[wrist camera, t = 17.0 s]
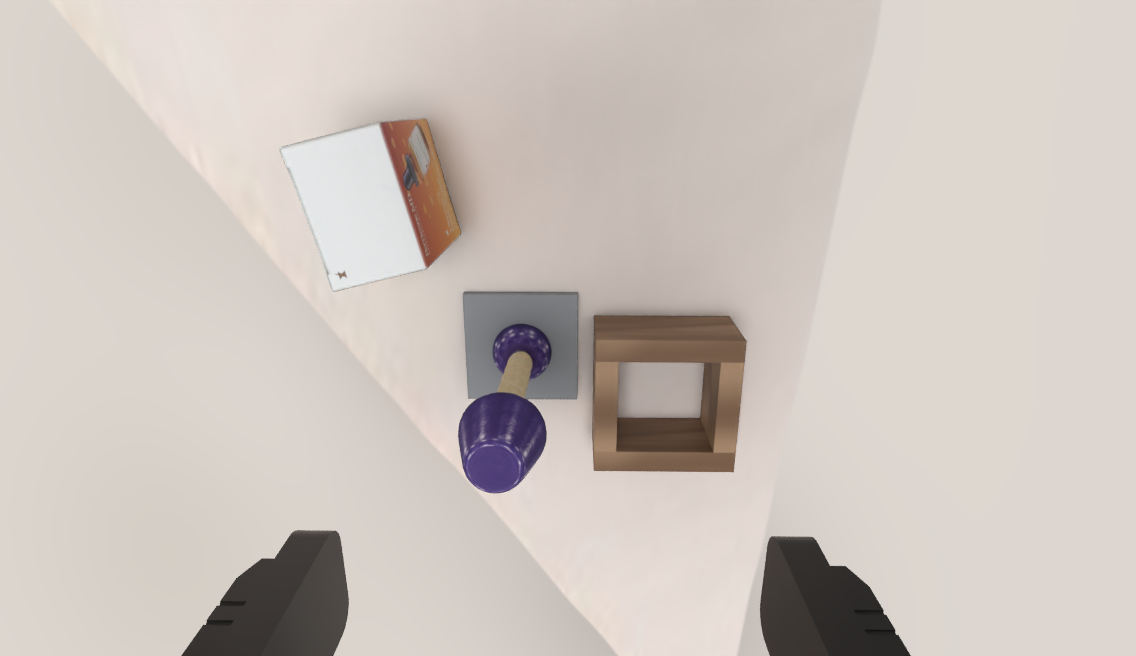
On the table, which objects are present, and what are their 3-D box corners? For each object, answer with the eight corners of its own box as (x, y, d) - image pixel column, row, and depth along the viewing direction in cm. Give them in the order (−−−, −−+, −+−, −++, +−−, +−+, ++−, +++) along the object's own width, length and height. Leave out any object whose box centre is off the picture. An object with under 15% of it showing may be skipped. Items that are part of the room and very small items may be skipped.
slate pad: (464, 292, 46) (462, 294, 45) (577, 292, 46) (577, 295, 45) (469, 395, 49) (468, 398, 48) (576, 395, 48) (576, 399, 48)
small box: (462, 234, 45) (430, 273, 35) (385, 253, 45) (331, 296, 35) (427, 115, 42) (381, 120, 32) (346, 136, 43) (275, 147, 33)
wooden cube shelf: (594, 315, 46) (595, 340, 42) (729, 316, 46) (746, 341, 42) (592, 435, 50) (593, 470, 45) (718, 436, 49) (733, 471, 45)
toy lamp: (477, 334, 46) (425, 455, 31) (533, 303, 46) (510, 411, 30) (512, 387, 48) (480, 530, 32) (567, 358, 47) (562, 490, 31)
